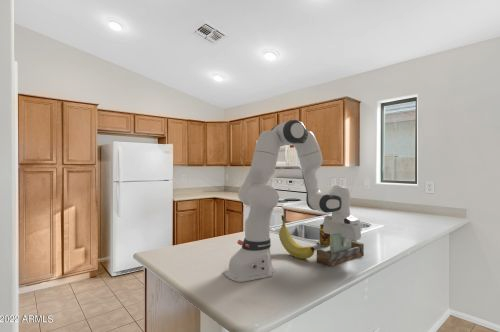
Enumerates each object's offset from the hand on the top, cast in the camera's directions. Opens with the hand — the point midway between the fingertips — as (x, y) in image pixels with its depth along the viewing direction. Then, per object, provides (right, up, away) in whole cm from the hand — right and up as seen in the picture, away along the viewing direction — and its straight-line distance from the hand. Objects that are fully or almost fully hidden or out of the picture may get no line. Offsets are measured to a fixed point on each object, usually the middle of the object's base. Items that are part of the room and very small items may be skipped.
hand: (341, 245), depth 136 cm
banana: (-22, -7, +4) cm, 23 cm away
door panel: (0, -4, 0) cm, 4 cm away
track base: (0, -7, 0) cm, 7 cm away
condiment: (-2, -7, +25) cm, 26 cm away
